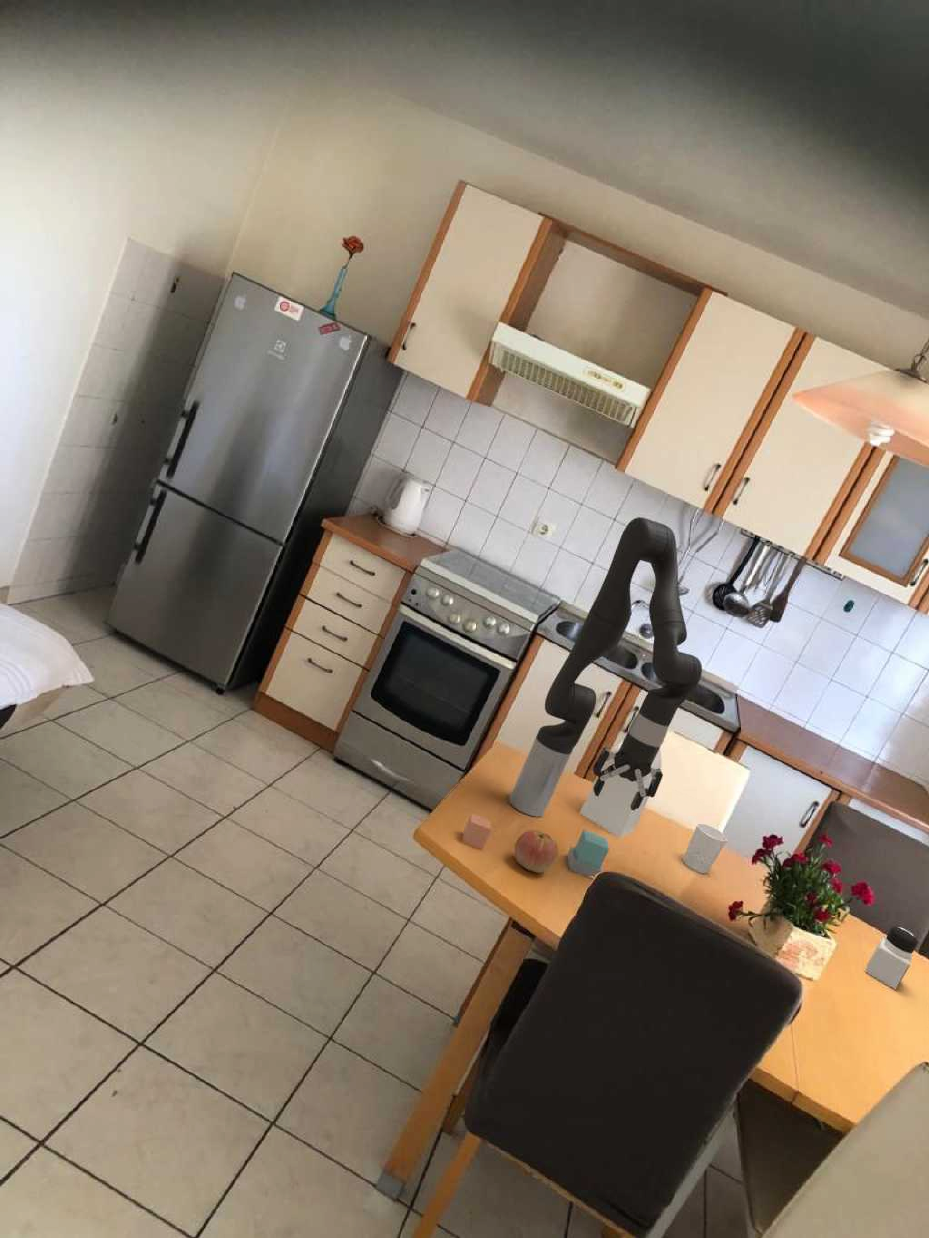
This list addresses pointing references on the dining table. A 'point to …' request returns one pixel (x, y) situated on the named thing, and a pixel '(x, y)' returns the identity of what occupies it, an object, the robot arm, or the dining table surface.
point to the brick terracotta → (476, 831)
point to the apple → (535, 850)
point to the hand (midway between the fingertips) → (614, 801)
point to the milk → (617, 801)
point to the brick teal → (591, 849)
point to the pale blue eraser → (581, 865)
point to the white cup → (704, 848)
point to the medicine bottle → (892, 957)
